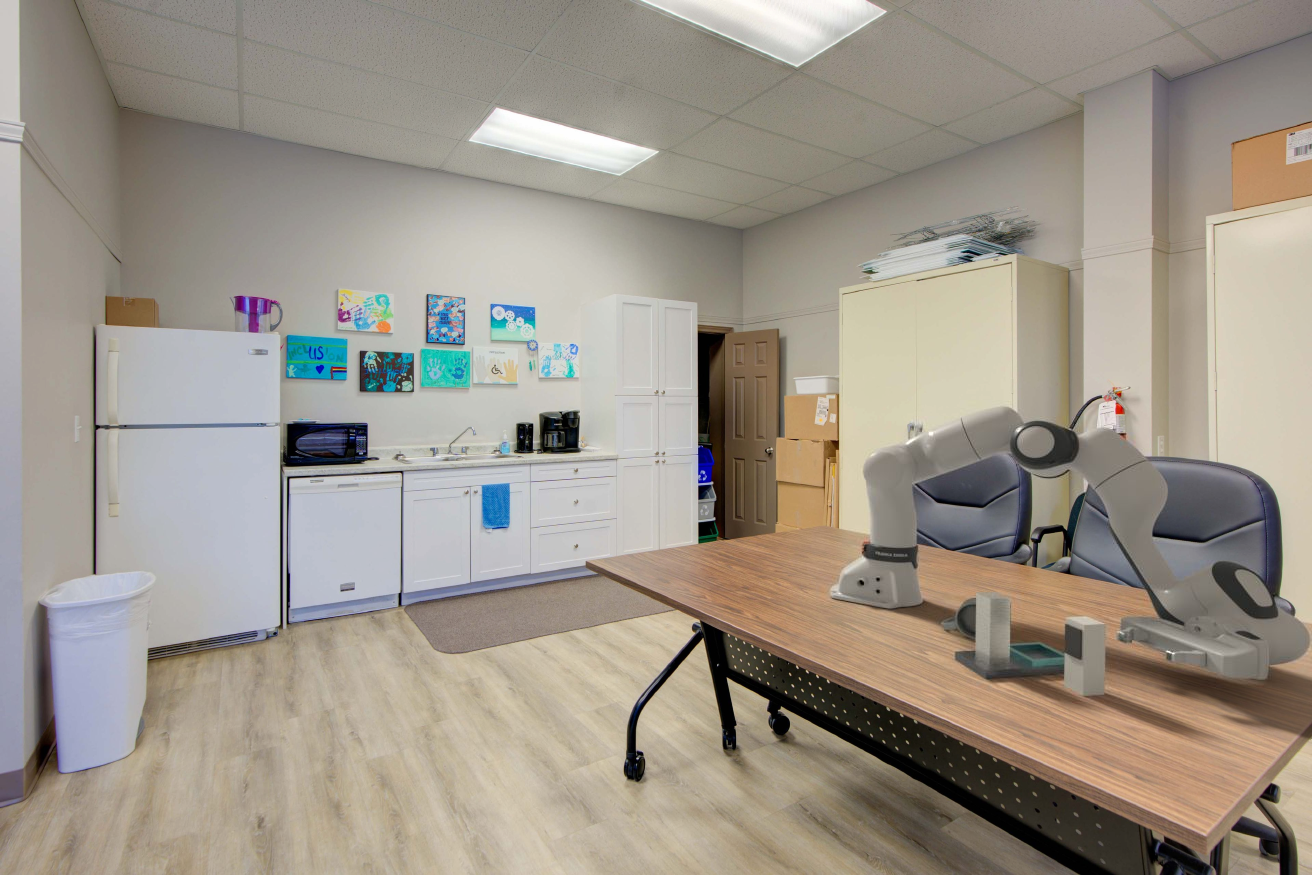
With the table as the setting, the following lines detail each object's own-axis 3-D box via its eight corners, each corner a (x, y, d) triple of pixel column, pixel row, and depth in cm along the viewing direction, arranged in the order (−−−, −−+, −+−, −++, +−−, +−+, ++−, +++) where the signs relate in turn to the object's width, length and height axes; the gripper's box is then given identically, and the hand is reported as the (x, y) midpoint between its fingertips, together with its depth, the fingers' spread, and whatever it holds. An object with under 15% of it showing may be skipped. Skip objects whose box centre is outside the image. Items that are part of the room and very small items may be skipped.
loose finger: (1080, 696, 103) (1082, 625, 103) (1062, 685, 107) (1063, 617, 107) (1104, 694, 104) (1105, 623, 104) (1084, 684, 108) (1086, 616, 108)
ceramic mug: (997, 630, 135) (997, 595, 135) (995, 642, 128) (995, 605, 128) (944, 623, 140) (943, 589, 140) (939, 634, 133) (939, 599, 133)
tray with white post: (985, 678, 110) (986, 603, 110) (954, 659, 119) (955, 589, 119) (1077, 672, 113) (1078, 599, 112) (1040, 653, 122) (1041, 585, 121)
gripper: (1158, 606, 119) (1093, 609, 117) (1279, 644, 99) (1203, 649, 97) (1158, 638, 119) (1093, 642, 117) (1278, 684, 99) (1202, 689, 97)
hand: (1143, 646), depth 107 cm, fingers open, 8 cm apart
